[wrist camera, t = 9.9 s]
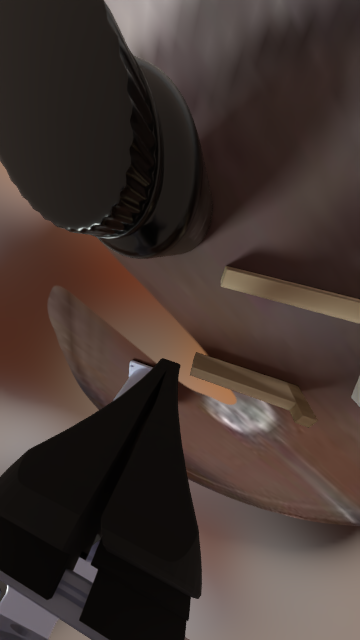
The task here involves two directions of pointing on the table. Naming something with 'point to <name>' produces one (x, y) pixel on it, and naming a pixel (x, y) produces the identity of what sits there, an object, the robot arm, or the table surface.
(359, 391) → the beige cube
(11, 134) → the supplement bottle
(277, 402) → the chute
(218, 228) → the table surface
